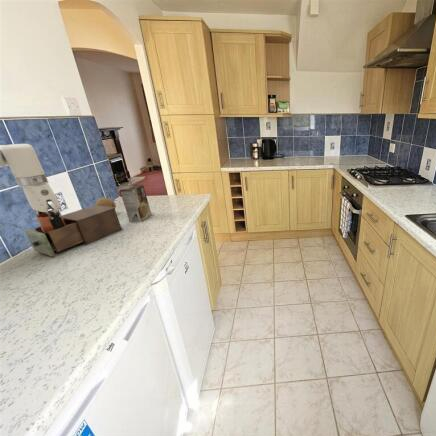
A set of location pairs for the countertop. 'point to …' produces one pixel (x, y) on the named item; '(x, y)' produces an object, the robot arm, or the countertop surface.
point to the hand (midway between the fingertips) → (53, 225)
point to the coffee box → (135, 202)
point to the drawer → (55, 238)
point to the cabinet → (95, 222)
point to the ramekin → (46, 222)
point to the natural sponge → (106, 202)
